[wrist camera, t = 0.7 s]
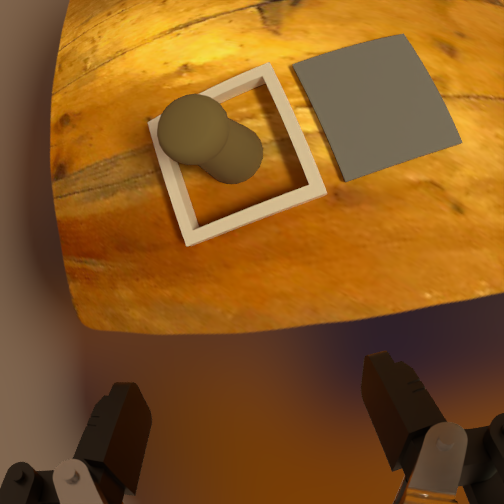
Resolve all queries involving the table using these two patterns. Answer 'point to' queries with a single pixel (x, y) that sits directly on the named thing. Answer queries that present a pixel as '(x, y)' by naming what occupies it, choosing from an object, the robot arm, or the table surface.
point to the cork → (209, 139)
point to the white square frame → (259, 211)
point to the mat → (376, 105)
